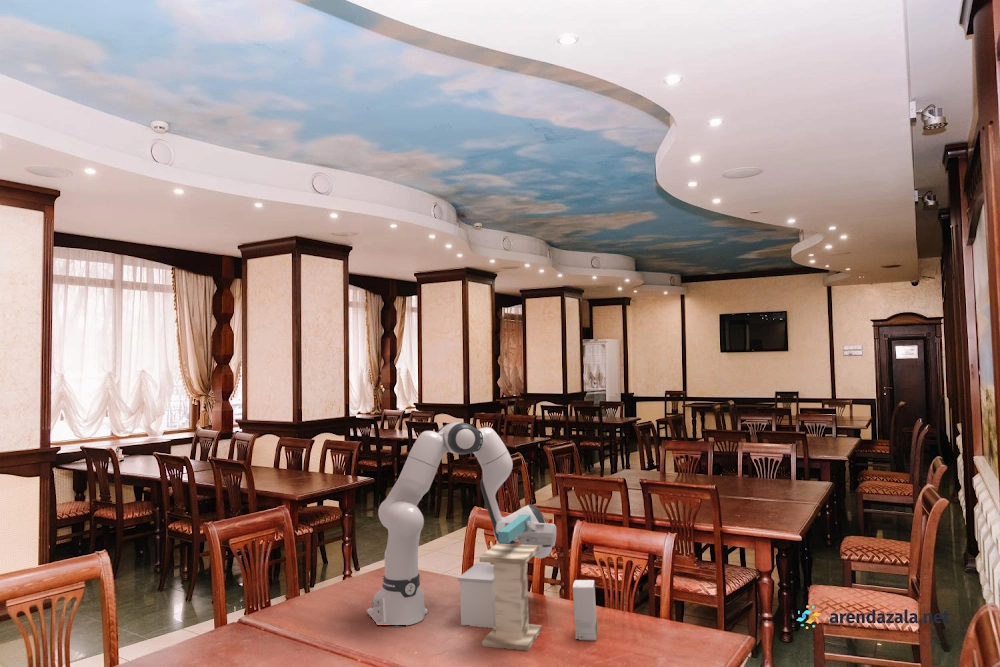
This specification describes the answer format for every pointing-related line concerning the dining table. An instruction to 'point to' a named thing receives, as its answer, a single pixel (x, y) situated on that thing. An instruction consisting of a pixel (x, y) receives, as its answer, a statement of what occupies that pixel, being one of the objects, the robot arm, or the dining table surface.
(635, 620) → the dining table surface
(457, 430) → the robot arm
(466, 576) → the grey storage box
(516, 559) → the birch pedestal
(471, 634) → the dining table surface
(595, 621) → the skincare box
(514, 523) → the teal bar
